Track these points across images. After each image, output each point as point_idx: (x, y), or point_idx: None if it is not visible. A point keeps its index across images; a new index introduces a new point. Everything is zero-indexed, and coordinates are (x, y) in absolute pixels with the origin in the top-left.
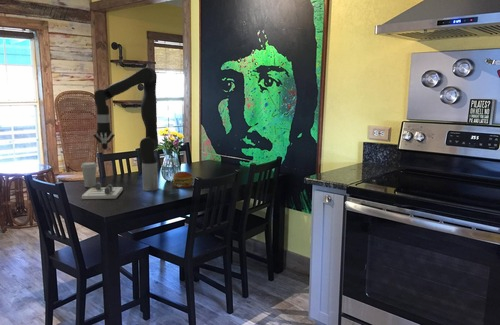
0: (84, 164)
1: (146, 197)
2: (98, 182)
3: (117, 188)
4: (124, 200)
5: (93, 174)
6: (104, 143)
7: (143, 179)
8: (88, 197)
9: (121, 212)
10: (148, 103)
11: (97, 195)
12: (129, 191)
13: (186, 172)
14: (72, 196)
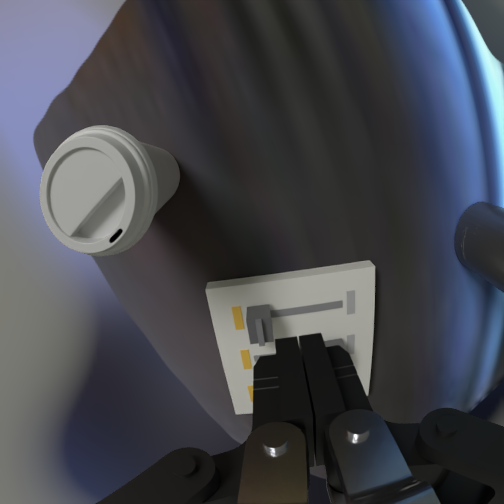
0: (74, 249)
1: (460, 354)
2: (260, 330)
3: (355, 297)
4: (395, 398)
5: (160, 204)
6: (306, 443)
7: (488, 278)
8: None
9: None
10: None
11: None
12: (403, 279)
13: None
14: (177, 373)
